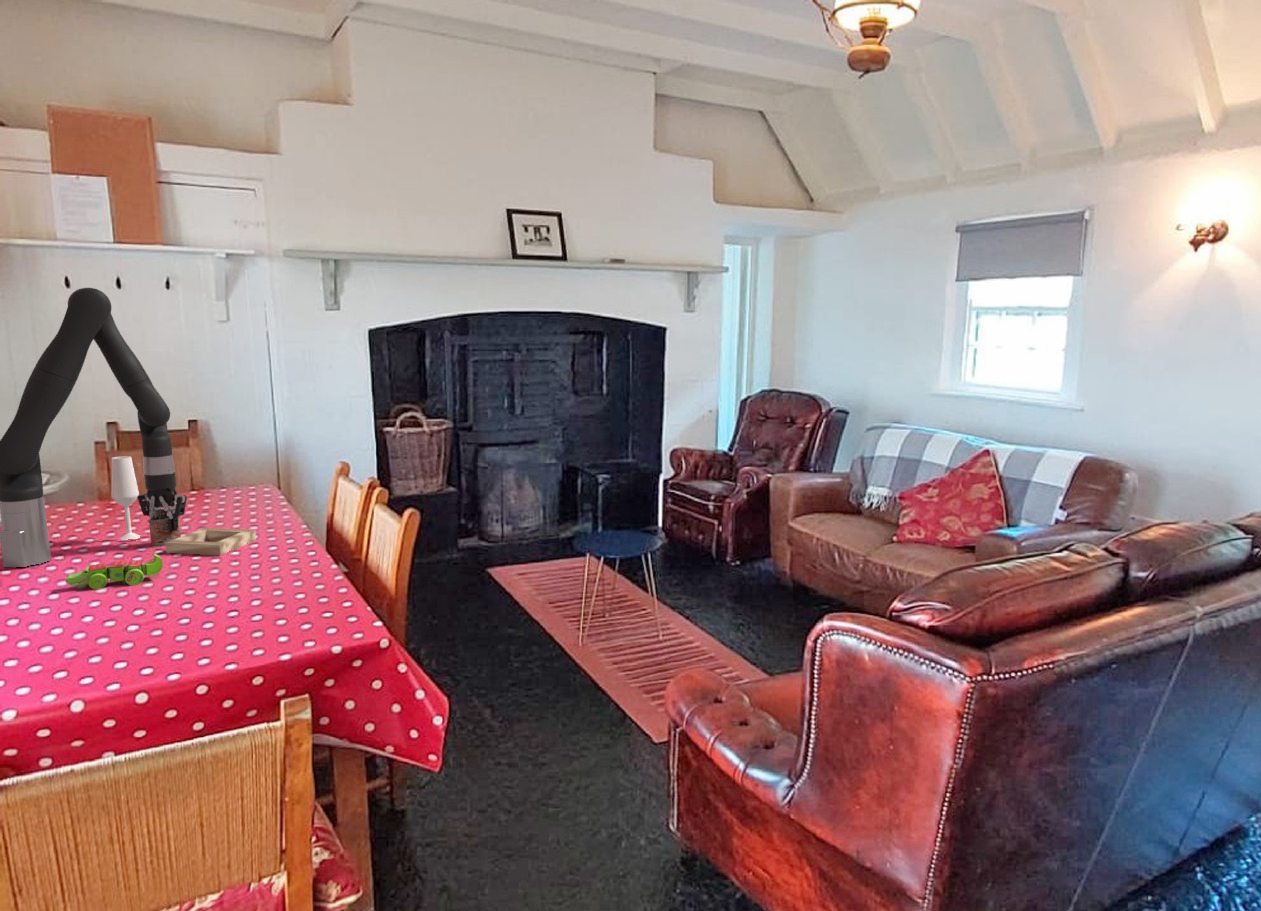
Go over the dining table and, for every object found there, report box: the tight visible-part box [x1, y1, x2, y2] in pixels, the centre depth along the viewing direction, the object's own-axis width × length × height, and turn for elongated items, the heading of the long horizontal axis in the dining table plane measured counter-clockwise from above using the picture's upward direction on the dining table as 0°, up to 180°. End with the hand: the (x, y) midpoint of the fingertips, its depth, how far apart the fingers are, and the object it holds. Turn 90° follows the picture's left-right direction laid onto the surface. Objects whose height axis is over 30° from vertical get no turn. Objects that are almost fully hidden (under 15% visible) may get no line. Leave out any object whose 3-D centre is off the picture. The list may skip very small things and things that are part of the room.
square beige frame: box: [164, 527, 257, 556], centre depth 221 cm, size 16×16×3 cm
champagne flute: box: [110, 455, 141, 540], centre depth 227 cm, size 7×7×24 cm
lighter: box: [147, 508, 182, 547], centre depth 223 cm, size 8×3×10 cm, turn 143°
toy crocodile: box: [65, 553, 164, 590], centre depth 189 cm, size 20×7×6 cm, turn 115°
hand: (165, 530), depth 224 cm, fingers closed on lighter, 4 cm apart
